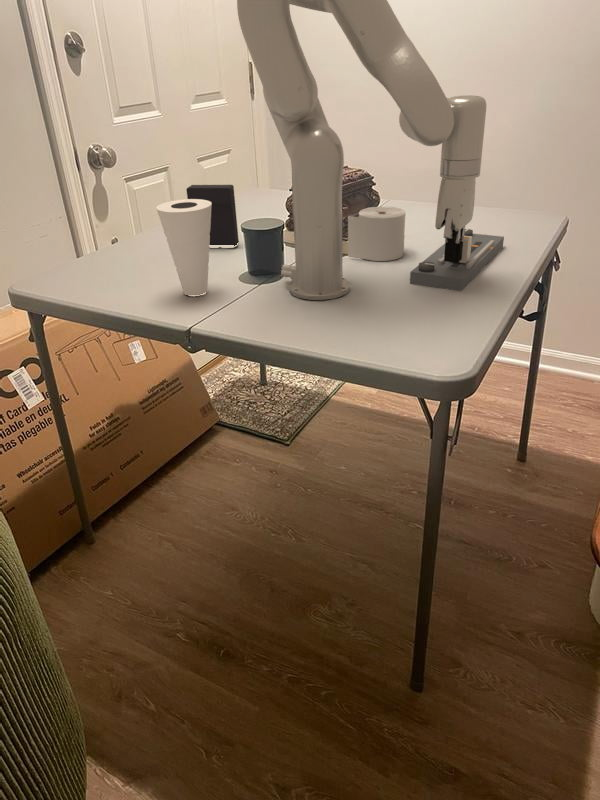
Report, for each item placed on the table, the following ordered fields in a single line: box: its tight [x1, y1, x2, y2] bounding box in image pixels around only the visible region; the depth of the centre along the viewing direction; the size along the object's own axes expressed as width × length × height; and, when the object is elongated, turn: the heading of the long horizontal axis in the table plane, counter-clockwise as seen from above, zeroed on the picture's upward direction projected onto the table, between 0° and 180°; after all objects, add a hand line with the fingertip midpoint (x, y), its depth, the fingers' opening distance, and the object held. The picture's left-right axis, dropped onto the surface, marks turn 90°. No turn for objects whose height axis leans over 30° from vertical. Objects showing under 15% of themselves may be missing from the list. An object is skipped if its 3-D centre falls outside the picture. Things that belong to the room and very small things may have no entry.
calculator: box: [186, 184, 240, 246], centre depth 155 cm, size 11×4×15 cm, turn 80°
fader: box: [459, 236, 472, 263], centre depth 131 cm, size 4×2×5 cm, turn 60°
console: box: [409, 228, 505, 292], centre depth 138 cm, size 11×32×4 cm, turn 150°
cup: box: [156, 198, 212, 295], centre depth 125 cm, size 11×11×18 cm
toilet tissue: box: [347, 206, 406, 262], centre depth 144 cm, size 11×12×10 cm
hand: (452, 260), depth 128 cm, fingers closed
